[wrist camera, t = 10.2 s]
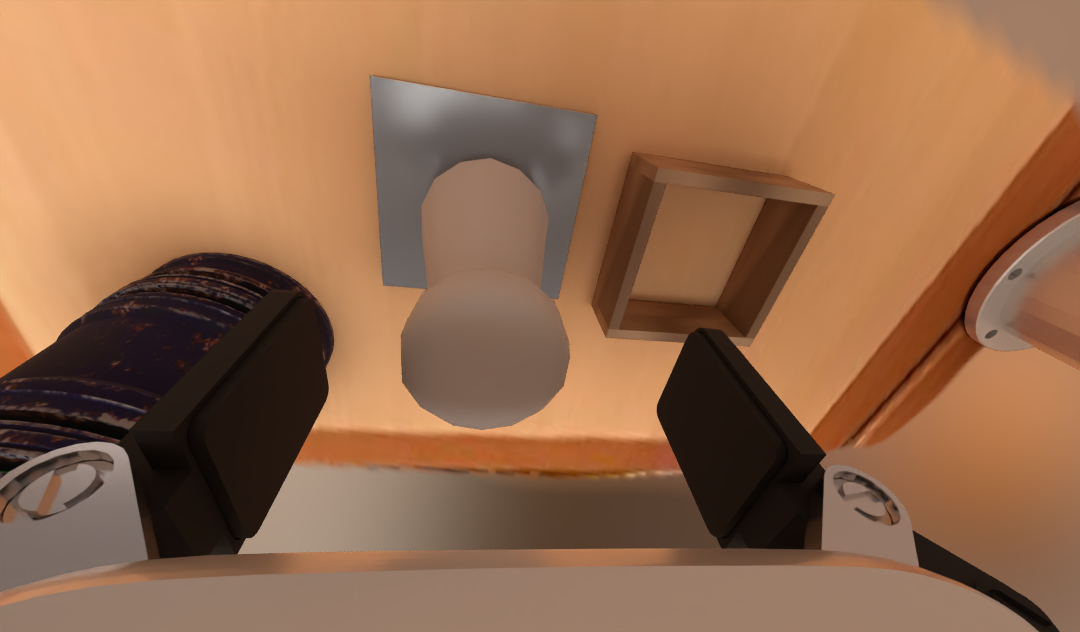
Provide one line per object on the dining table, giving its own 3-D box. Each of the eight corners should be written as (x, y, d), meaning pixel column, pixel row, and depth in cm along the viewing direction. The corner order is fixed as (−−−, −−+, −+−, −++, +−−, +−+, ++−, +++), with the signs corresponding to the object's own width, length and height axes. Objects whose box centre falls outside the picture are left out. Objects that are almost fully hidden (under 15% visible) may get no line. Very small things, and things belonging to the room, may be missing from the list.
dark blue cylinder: (306, 409, 26) (150, 715, 14) (128, 355, 23) (-302, 712, 10) (360, 301, 23) (211, 595, 10) (156, 214, 19) (-490, 517, 6)
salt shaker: (462, 121, 18) (428, 219, 7) (563, 190, 20) (659, 344, 9) (408, 227, 20) (318, 425, 9) (504, 278, 22) (523, 484, 11)
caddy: (787, 176, 21) (835, 194, 19) (720, 315, 26) (749, 346, 23) (632, 152, 20) (658, 167, 17) (591, 305, 25) (605, 337, 22)
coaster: (594, 113, 19) (597, 115, 18) (556, 294, 24) (558, 298, 23) (373, 75, 17) (369, 75, 16) (385, 280, 22) (383, 285, 21)
